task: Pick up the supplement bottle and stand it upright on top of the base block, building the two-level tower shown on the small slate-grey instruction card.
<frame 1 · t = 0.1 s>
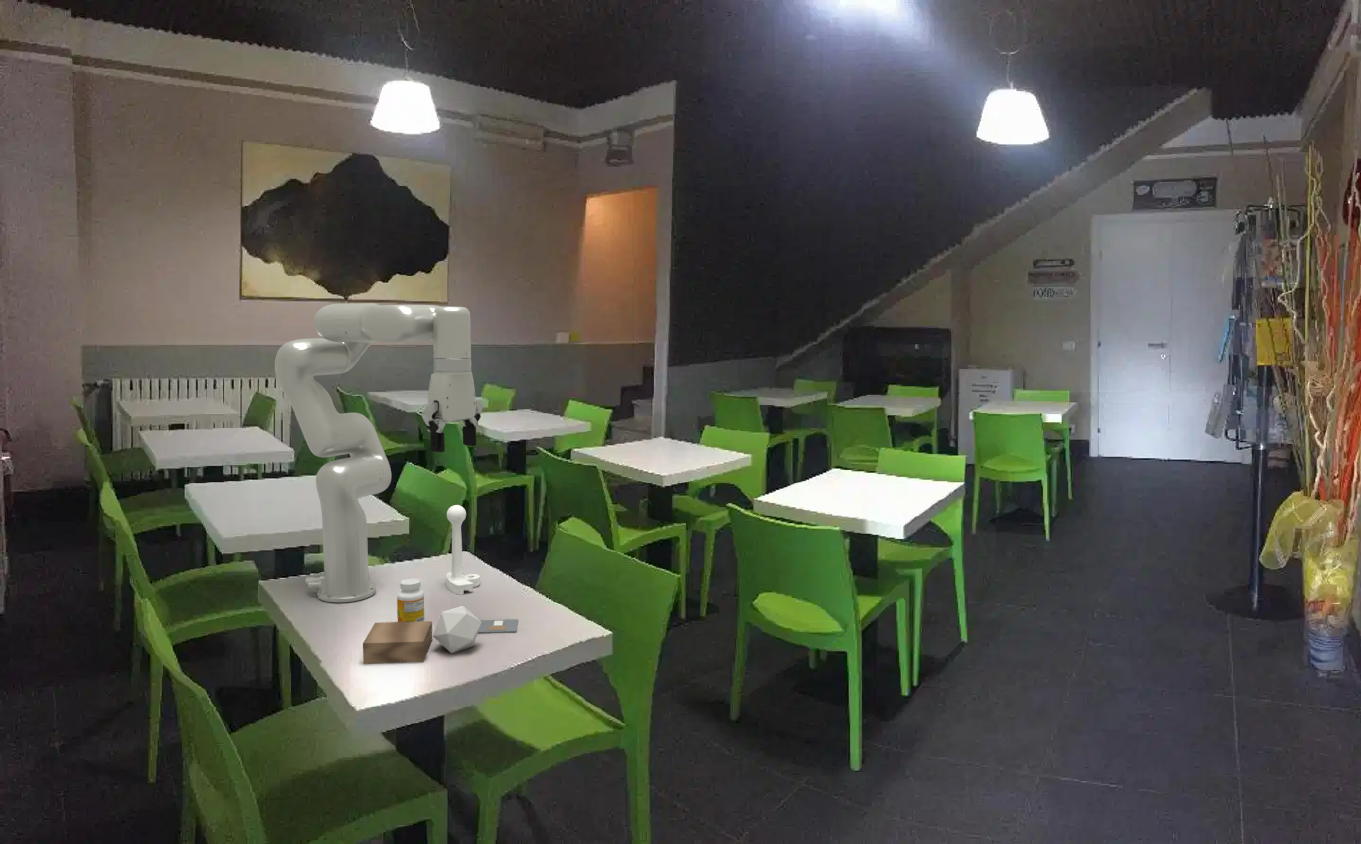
hand: (454, 448, 188), 37 cm above the table, tool pointing down, fingers open, 9 cm apart
instruction card: (497, 626, 189), on the table
joystick: (464, 587, 215), on the table
die: (457, 648, 177), on the table
supplement bottle: (411, 627, 188), on the table
base block: (399, 651, 175), on the table
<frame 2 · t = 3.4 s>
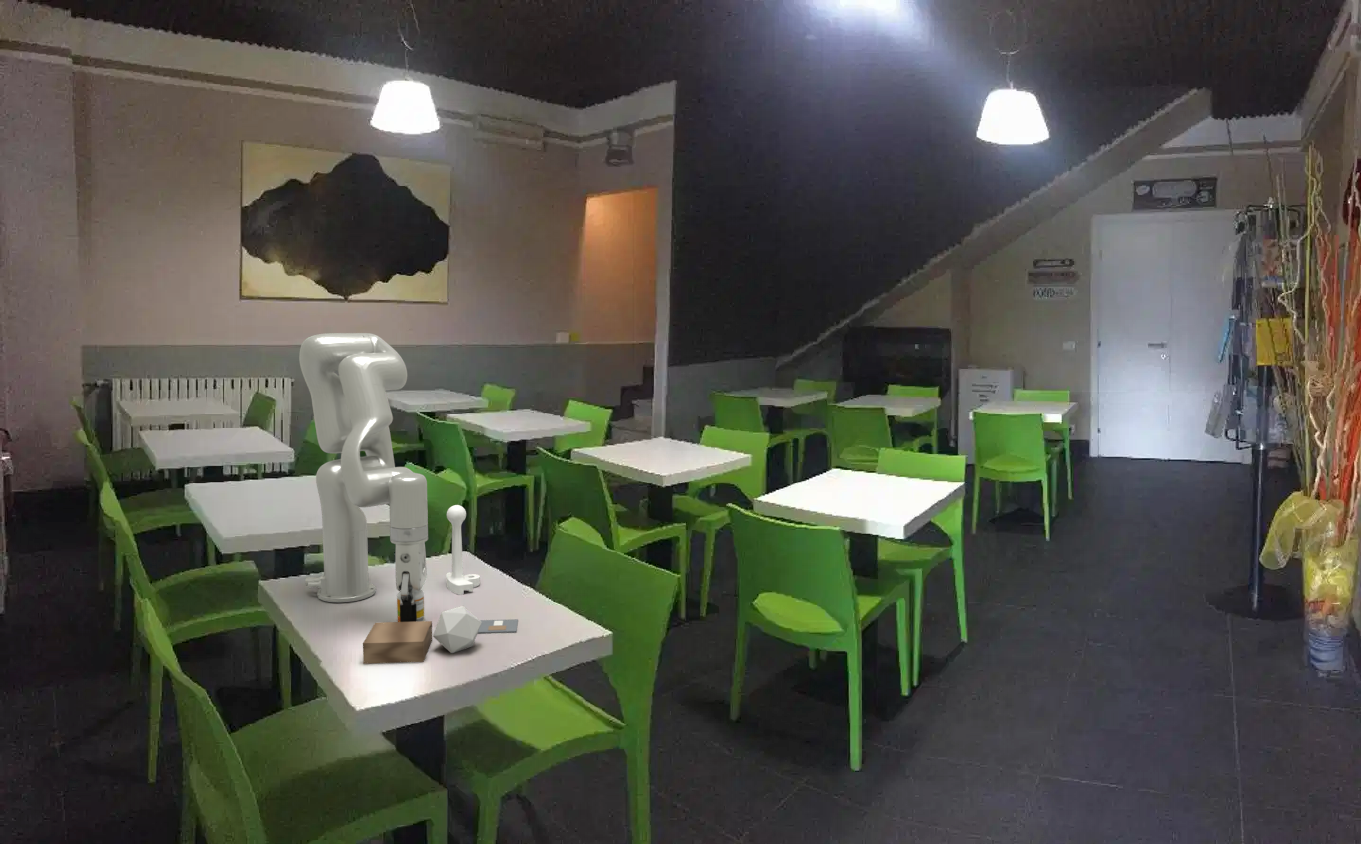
hand: (411, 616, 188), 2 cm above the table, tool pointing down, fingers closed on supplement bottle, 5 cm apart
supplement bottle: (411, 627, 188), on the table, touching gripper
everything else where it was.
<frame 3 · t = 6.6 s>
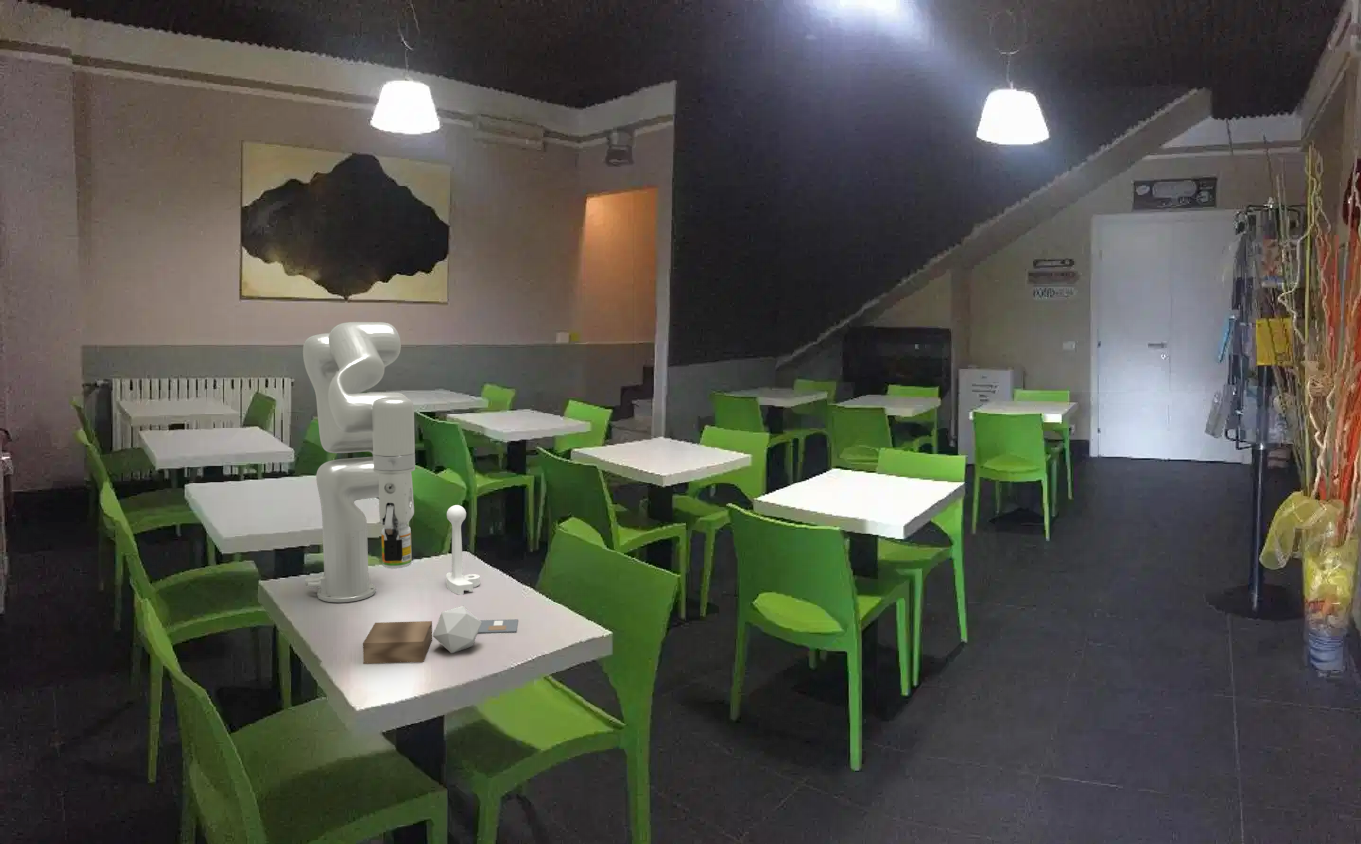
hand: (396, 554, 172), 19 cm above the table, tool pointing down, fingers closed on supplement bottle, 5 cm apart
supplement bottle: (397, 566, 172), point 17 cm above the table, touching gripper
everything else where it was.
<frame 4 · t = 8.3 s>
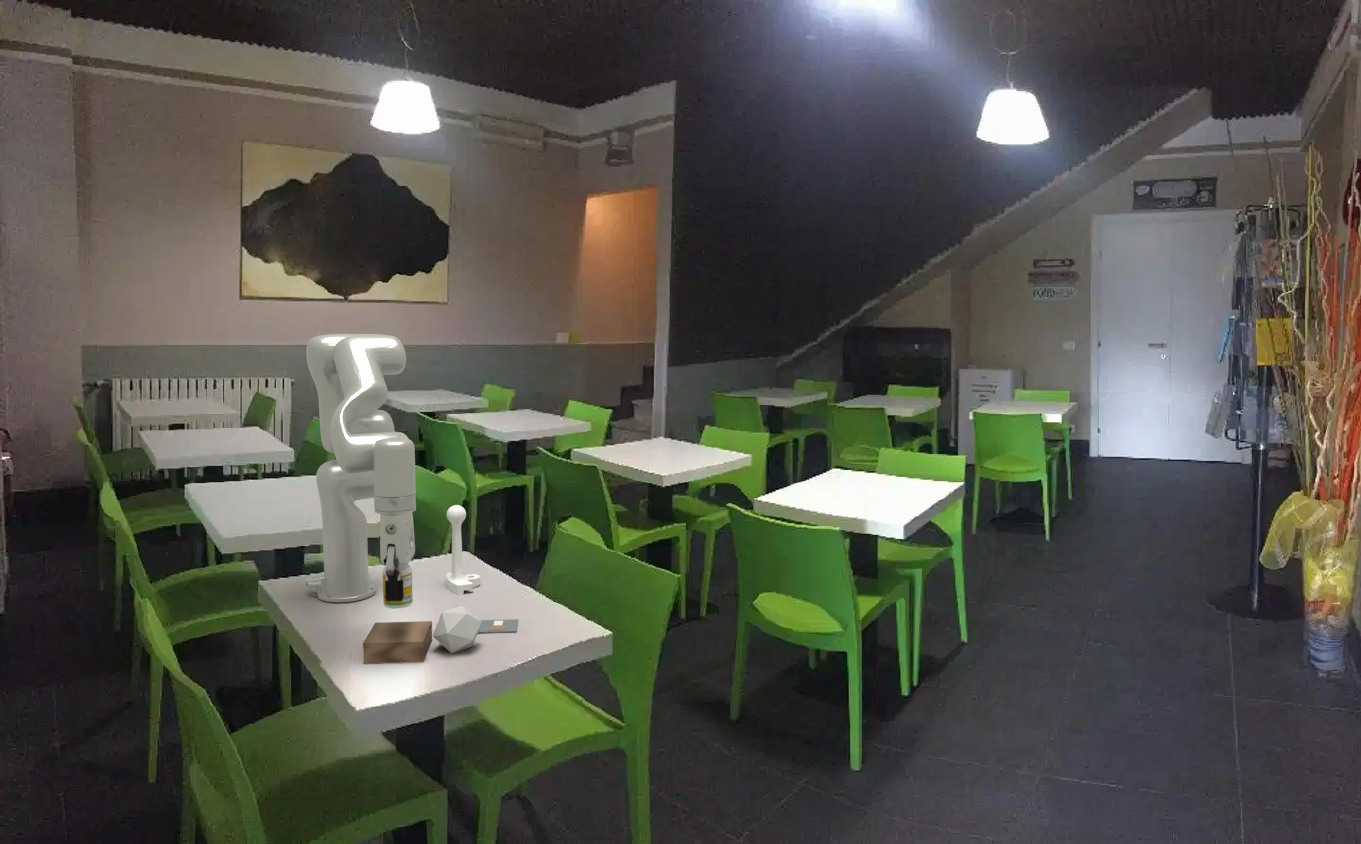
hand: (397, 594, 173), 12 cm above the table, tool pointing down, fingers closed on supplement bottle, 5 cm apart
supplement bottle: (398, 605, 173), point 9 cm above the table, touching gripper
everything else where it was.
when the fingers open (7 cm above the table, at t = 9.8 s): supplement bottle drops 1 cm, resting on base block.
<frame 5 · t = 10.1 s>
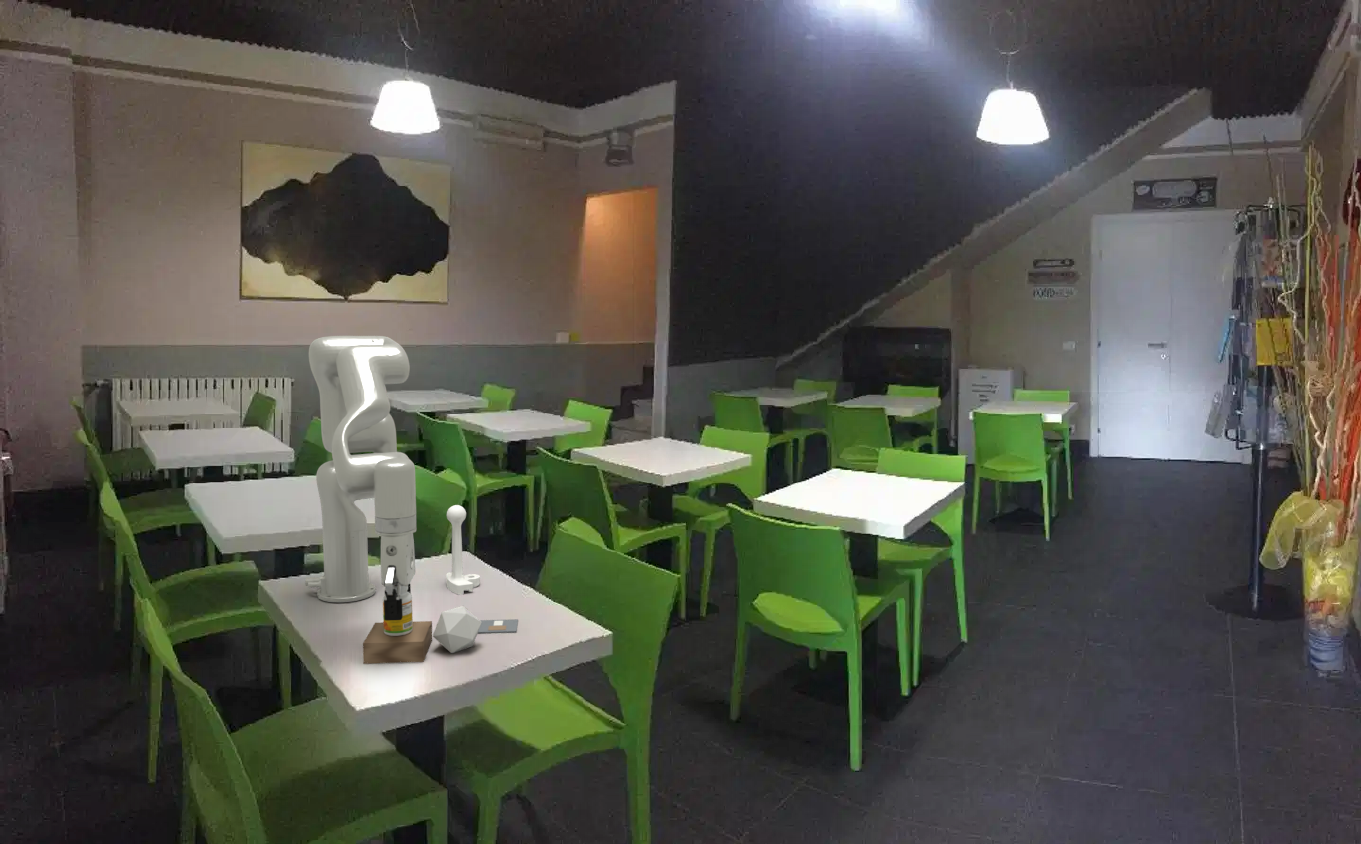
hand: (398, 611, 173), 8 cm above the table, tool pointing down, fingers open, 8 cm apart
supplement bottle: (398, 632, 174), point 4 cm above the table, touching base block
everything else where it was.
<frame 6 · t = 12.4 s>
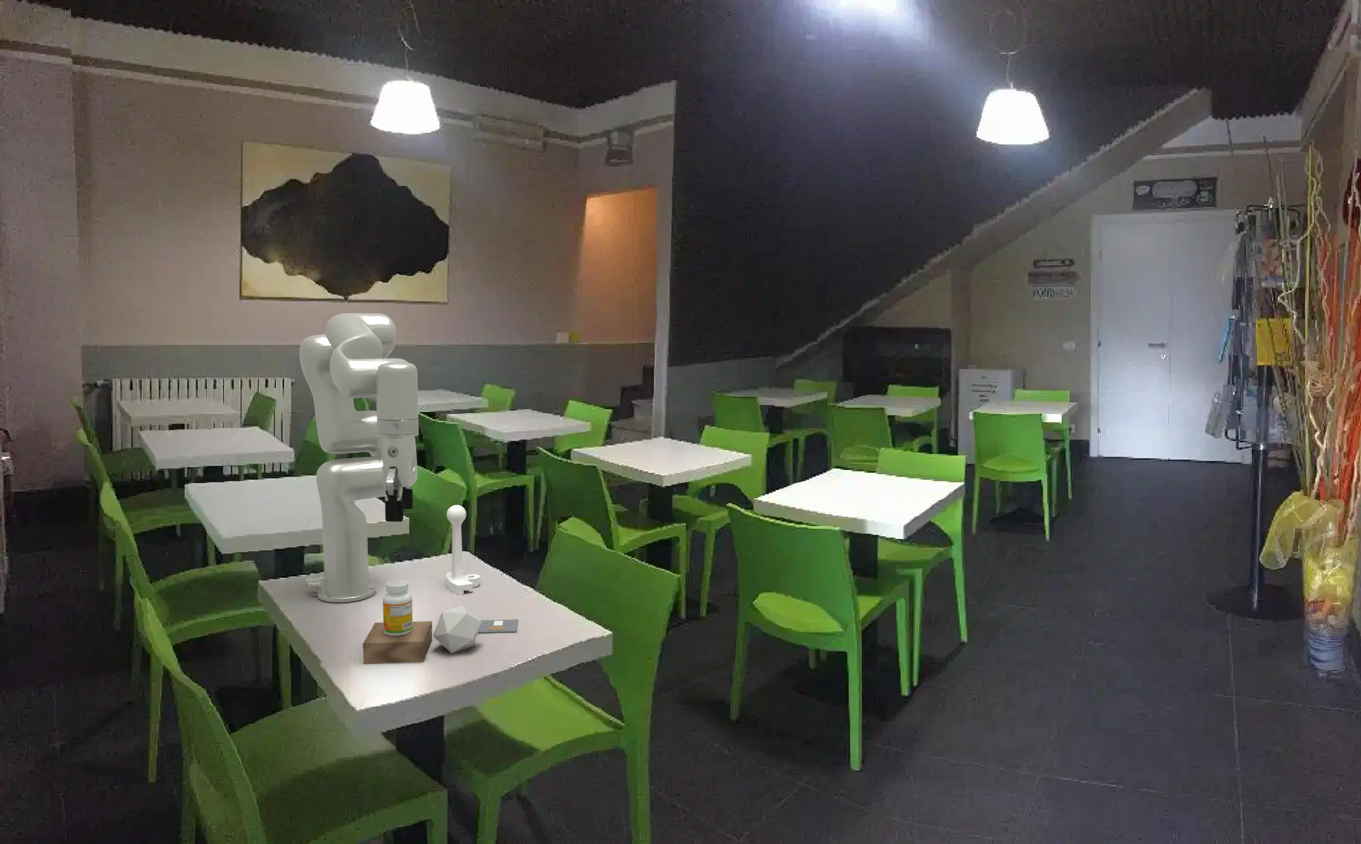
hand: (399, 514, 174), 27 cm above the table, tool pointing down, fingers open, 9 cm apart
nothing on the table moved.
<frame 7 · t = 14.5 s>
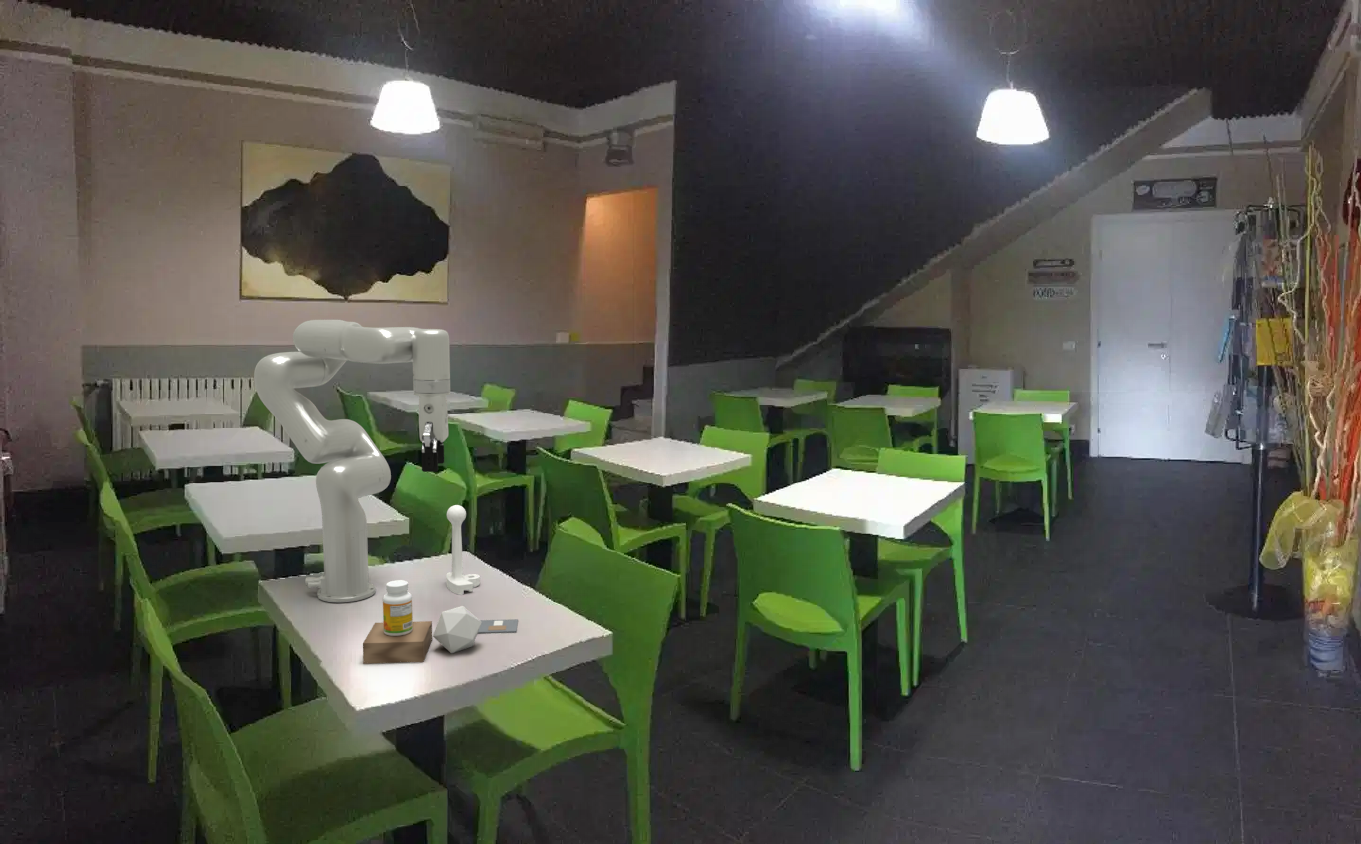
hand: (433, 467, 192), 32 cm above the table, tool pointing down, fingers open, 9 cm apart
nothing on the table moved.
at the end: supplement bottle inside the target area on the base block (0.1 cm from its centre), point 3.8 cm above the base block's base; supplement bottle tilted 0°; the gripper is holding nothing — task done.
